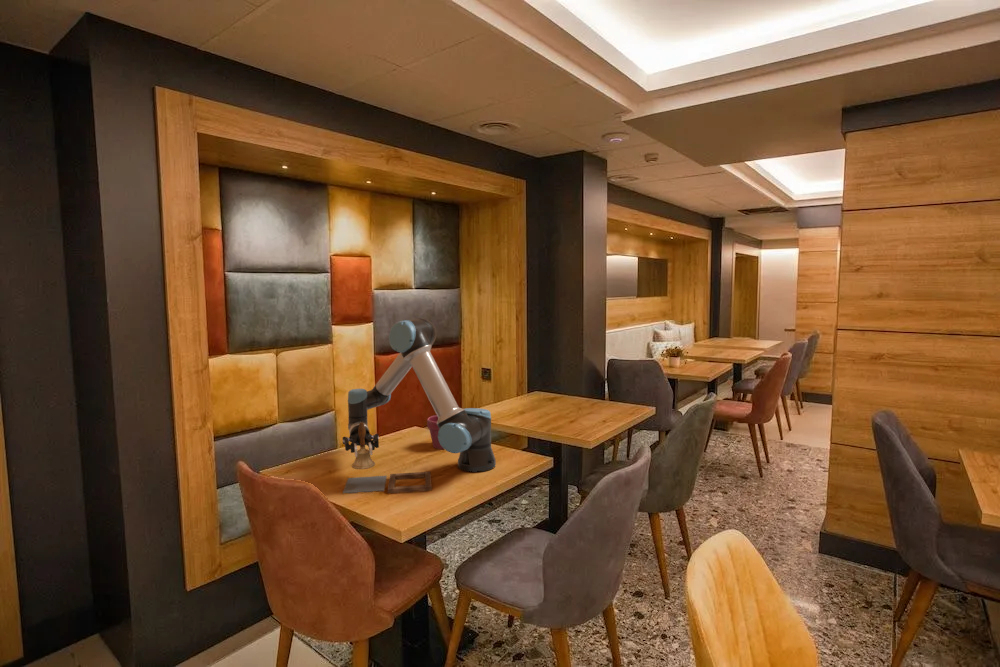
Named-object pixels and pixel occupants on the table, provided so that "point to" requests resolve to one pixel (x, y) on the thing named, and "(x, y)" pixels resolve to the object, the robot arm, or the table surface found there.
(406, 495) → the table surface
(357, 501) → the table surface
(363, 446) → the hand bell
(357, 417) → the robot arm
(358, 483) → the rubber mat
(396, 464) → the table surface
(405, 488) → the square frame
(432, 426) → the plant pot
